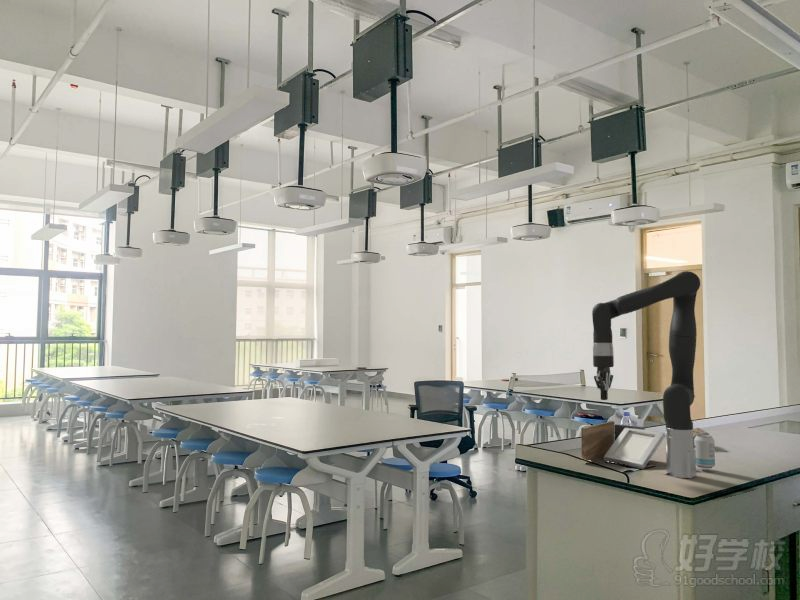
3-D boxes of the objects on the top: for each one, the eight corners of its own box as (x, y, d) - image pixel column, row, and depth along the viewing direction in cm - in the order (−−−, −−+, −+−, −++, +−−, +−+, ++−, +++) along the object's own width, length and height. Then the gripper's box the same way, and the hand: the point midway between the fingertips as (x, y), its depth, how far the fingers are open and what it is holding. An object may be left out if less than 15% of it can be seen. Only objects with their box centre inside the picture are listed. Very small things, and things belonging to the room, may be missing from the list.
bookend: (649, 458, 248) (648, 426, 249) (644, 460, 244) (643, 427, 245) (620, 454, 256) (619, 423, 257) (615, 456, 252) (614, 424, 253)
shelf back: (614, 454, 255) (614, 421, 256) (585, 464, 234) (584, 428, 235) (611, 454, 256) (610, 420, 257) (581, 464, 235) (581, 427, 236)
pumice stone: (683, 442, 285) (683, 425, 286) (711, 445, 280) (711, 427, 281) (683, 447, 273) (682, 429, 273) (712, 449, 268) (712, 431, 268)
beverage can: (697, 464, 236) (696, 433, 237) (716, 466, 231) (716, 435, 232) (692, 467, 231) (692, 435, 231) (712, 469, 226) (711, 437, 227)
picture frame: (603, 456, 238) (626, 425, 250) (605, 462, 239) (627, 431, 251) (642, 464, 226) (664, 432, 239) (644, 470, 227) (665, 438, 240)
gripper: (605, 355, 226) (606, 401, 225) (619, 354, 236) (620, 399, 235) (586, 354, 231) (587, 400, 230) (601, 354, 241) (602, 398, 240)
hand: (604, 399), depth 232 cm, fingers closed
